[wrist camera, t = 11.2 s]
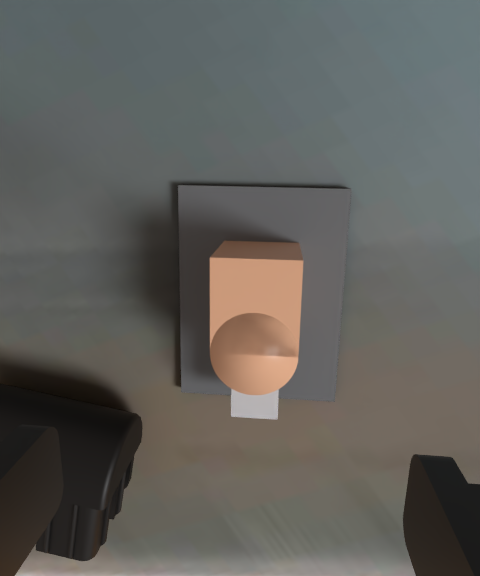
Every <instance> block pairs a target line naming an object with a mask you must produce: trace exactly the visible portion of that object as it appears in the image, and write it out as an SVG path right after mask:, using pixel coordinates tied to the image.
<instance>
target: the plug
mask: <svg viewBox="0 0 480 576" xmlns="http://www.w3.org/2000/svg"><path fill="white" fill-rule="evenodd" d="M302 279H303V257H302V252H301V248H300V244H299V243H287V242H252V241H224V242H223V243H222V244H221V245H220V246H219V248H218V249H217V250H216V251H215V252H214V253H213V254H212V256H211V257H210V359H211V364H212V366H213V369H214V371H215V373H216V374H217V376H218V377H219V379H220V380H221V381H222V382H223V383H224V384H225V385H227V386H228V387H230V388H231V417H246V418H262V419H278V395H279V389H280V388H281V387H283V386H284V385H285V384H286V383H287V382H288V381H289V380H290V379H291V377H292V376H293V374H294V372H295V370H296V367H297V364H298V356H299V337H300V318H301V298H302Z"/></svg>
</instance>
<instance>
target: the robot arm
mask: <svg viewBox="0 0 480 576" xmlns="http://www.w3.org/2000/svg"><path fill="white" fill-rule="evenodd" d="M62 494H63V474H62V464H61V454H60V444H59V435H58V431H57V429H56V428H55V427H48V426H35V425H20V426H18V427H17V428H15V429H14V430H13V431H12V432H11V433H10V434H9V435H8V436H7V437H6V438H5V439H4V440H3V441H2V442H1V443H0V576H15V574H16V573H17V571H18V570H19V568H20V567H21V565H22V564H23V562H24V561H25V559H26V558H27V556H28V555H29V553H30V552H31V550H32V549H33V547H34V546H35V544H36V543H37V541H38V540H39V538H40V537H41V535H42V534H43V532H44V531H45V529H46V527H47V526H48V524H49V523H50V521H51V520H52V518H53V517H54V515H55V514H56V512H57V510H58V508H59V505H60V502H61V499H62ZM403 528H404V537H405V542H406V546H407V550H408V553H409V556H410V559H411V562H412V565H413V568H414V571H415V574H416V576H480V484H468V483H467V481H466V479H465V478H464V476H463V474H462V473H461V471H460V469H459V467H458V466H457V464H456V462H455V461H454V459H453V458H451V457H444V456H430V455H417V454H415V455H413V457H412V459H411V463H410V470H409V477H408V485H407V492H406V499H405V506H404V514H403Z"/></svg>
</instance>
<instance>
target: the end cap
mask: <svg viewBox="0 0 480 576" xmlns="http://www.w3.org/2000/svg"><path fill="white" fill-rule="evenodd" d="M20 425H35V426H48V427H55V428H56V429H57V431H58V435H59V444H60V454H61V464H62V474H63V494H62V499H61V502H60V505H59V508H58V510H57V512H56V514H55V515H54V517H53V518H52V520H51V521H50V523H49V524H48V526H47V527H46V529H45V531H44V532H43V534H42V535H41V537H40V538H39V540H38V541H37V543H36V550H37V551H41V552H44V553H49V554H54V555H58V556H62V557H66V558H70V559H75V560H79V561H88V560H90V559H92V558H93V557H95V555H96V554H97V552H98V550H99V548H100V546H101V545H103V544H104V543H105V542H106V539H107V531H108V523H109V519H114V517H115V515H116V514H118V513H119V512H120V511H121V506H122V499H123V492H124V489H125V488H126V487H127V486H128V484H129V481H130V479H131V474H132V468H133V461H134V454H135V452H136V450H137V449H138V447H139V445H140V443H141V438H142V421H141V418H140V416H139V415H138V414H136V413H131V412H127V411H122V410H117V409H113V408H108V407H104V406H99V405H95V404H90V403H86V402H81V401H77V400H72V399H68V398H63V397H59V396H54V395H49V394H45V393H40V392H36V391H31V390H27V389H22V388H18V387H13V386H9V385H4V384H0V443H1V442H2V441H3V440H4V439H5V438H6V437H7V436H8V435H9V434H10V433H11V432H12V431H13V430H14V429H15V428H17V427H18V426H20Z"/></svg>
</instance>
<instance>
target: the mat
mask: <svg viewBox="0 0 480 576" xmlns="http://www.w3.org/2000/svg"><path fill="white" fill-rule="evenodd" d="M350 202H351V189H342V188H295V187H249V186H203V185H178V216H179V278H180V340H181V392H187V393H203V394H219V395H231V388H230V387H228V386H227V385H225V384H224V383H223V382H222V381H221V380H220V379H219V377H218V376H217V374H216V373H215V371H214V369H213V366H212V364H211V359H210V257H211V256H212V254H213V253H214V252H215V251H216V250H217V249H218V248H219V246H220V245H221V244H222V243H223V242H224V241H252V242H287V243H299V244H300V248H301V252H302V257H303V279H302V298H301V318H300V337H299V356H298V364H297V367H296V370H295V372H294V374H293V376H292V377H291V379H290V380H289V381H288V382H287V383H286V384H285V385H284V386H283V387H281V388H280V389H279V395H278V398H284V399H301V400H317V401H333V402H335V391H336V379H337V366H338V353H339V341H340V328H341V315H342V303H343V290H344V278H345V265H346V252H347V240H348V227H349V215H350Z"/></svg>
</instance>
